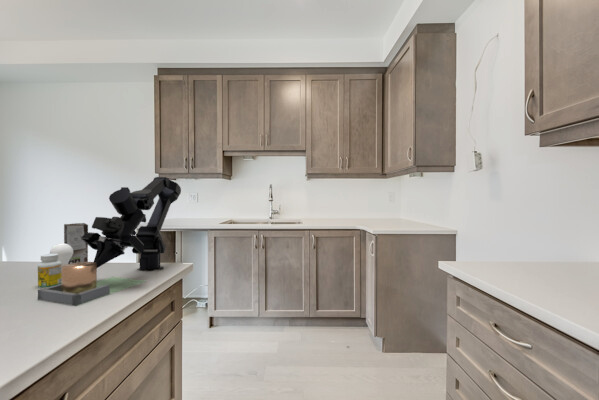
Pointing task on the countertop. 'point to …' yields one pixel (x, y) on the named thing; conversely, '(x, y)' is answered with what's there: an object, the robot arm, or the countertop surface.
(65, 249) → the lightbulb
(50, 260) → the supplement bottle
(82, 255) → the coffee box
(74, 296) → the shallow gray tray
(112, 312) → the countertop surface
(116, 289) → the green
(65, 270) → the copper metal cylinder
